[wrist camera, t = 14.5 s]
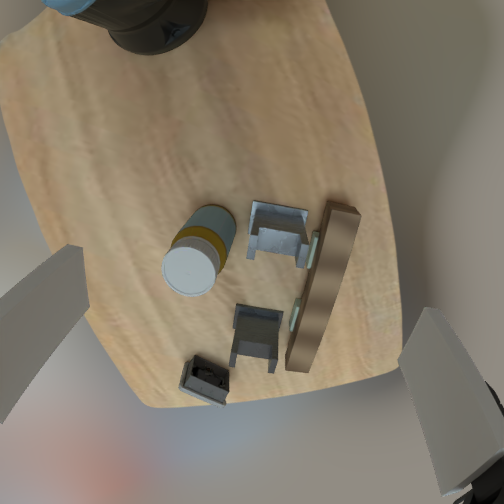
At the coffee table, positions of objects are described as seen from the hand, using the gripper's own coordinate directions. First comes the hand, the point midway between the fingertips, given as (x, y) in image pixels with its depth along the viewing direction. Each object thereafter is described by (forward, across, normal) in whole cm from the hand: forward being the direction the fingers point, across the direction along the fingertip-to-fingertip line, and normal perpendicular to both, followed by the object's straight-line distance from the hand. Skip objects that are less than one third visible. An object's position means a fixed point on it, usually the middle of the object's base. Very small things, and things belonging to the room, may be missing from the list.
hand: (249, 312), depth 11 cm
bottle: (+35, -7, -10) cm, 37 cm away
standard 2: (+35, +2, -8) cm, 36 cm away
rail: (+32, +10, -17) cm, 38 cm away
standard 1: (+35, +2, -26) cm, 43 cm away
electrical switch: (+35, -5, -40) cm, 53 cm away
